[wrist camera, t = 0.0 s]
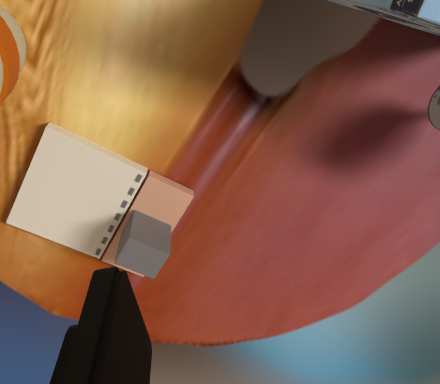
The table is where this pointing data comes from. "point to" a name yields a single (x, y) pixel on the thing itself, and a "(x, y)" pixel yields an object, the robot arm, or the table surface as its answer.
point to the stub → (148, 226)
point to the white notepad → (75, 191)
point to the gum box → (401, 12)
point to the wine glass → (435, 109)
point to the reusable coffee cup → (10, 53)
